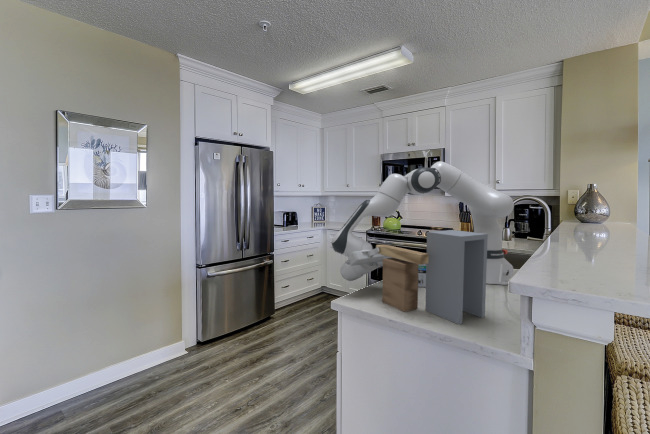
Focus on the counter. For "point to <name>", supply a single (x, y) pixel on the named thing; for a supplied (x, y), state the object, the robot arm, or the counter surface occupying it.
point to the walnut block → (400, 284)
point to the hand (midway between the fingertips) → (384, 248)
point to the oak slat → (404, 254)
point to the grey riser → (456, 274)
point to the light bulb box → (422, 275)
